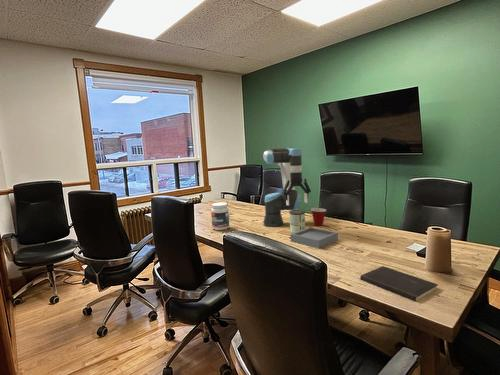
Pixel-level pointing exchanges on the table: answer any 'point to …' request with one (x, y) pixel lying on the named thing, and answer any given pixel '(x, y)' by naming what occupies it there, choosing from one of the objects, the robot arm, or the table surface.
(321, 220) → the plastic cup
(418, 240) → the table surface
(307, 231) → the grey square tray
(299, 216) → the coffee can
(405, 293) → the hardcover book
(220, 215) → the supplement tub
